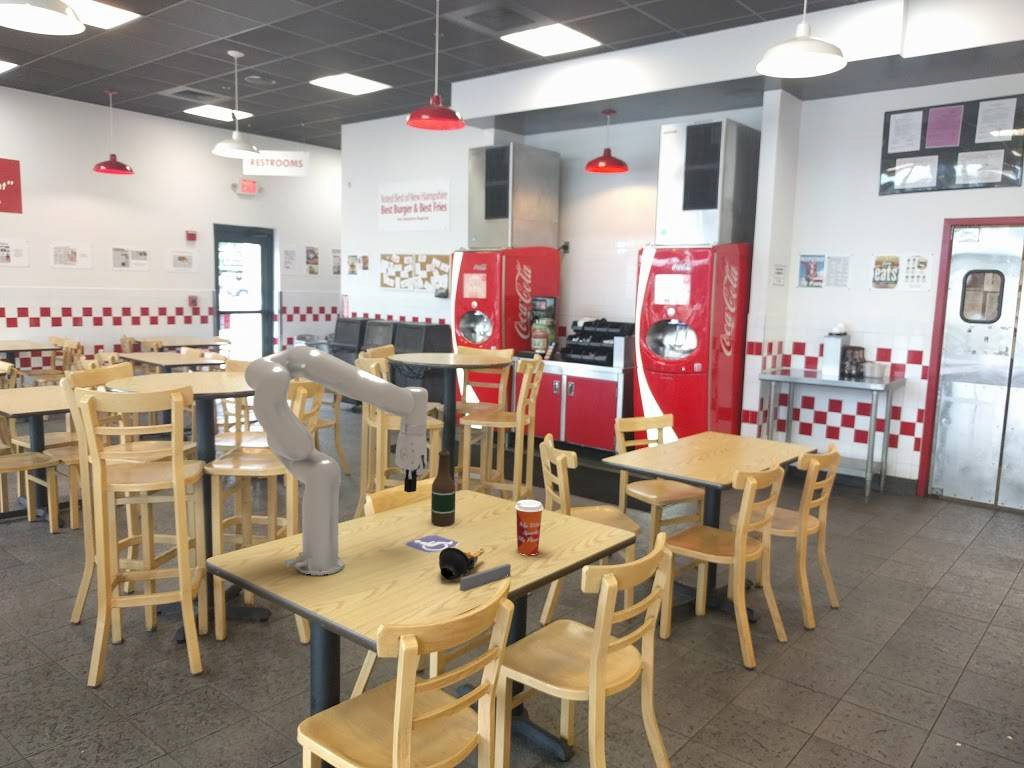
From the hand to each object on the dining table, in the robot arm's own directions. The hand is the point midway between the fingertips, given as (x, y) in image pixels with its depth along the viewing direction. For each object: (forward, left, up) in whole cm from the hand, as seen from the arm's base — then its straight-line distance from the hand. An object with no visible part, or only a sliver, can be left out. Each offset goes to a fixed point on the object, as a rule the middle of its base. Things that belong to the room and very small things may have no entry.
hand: (410, 491), depth 223 cm
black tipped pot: (+1, -24, -18) cm, 30 cm away
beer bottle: (+22, +13, -18) cm, 31 cm away
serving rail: (+1, -33, -17) cm, 38 cm away
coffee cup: (+25, -24, -18) cm, 39 cm away
